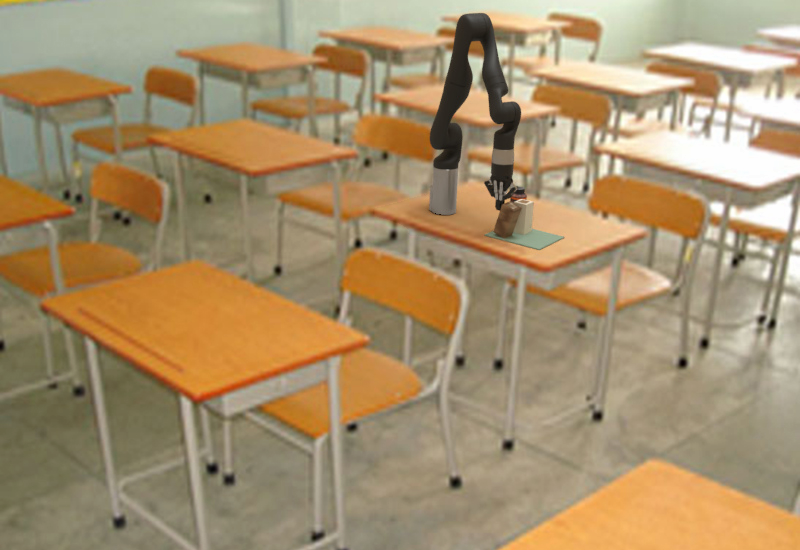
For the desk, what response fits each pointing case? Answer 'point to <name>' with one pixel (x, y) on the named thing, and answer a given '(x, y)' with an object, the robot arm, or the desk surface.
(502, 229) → the walnut block
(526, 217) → the cream block
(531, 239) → the cutting mat
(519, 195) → the supplement bottle
